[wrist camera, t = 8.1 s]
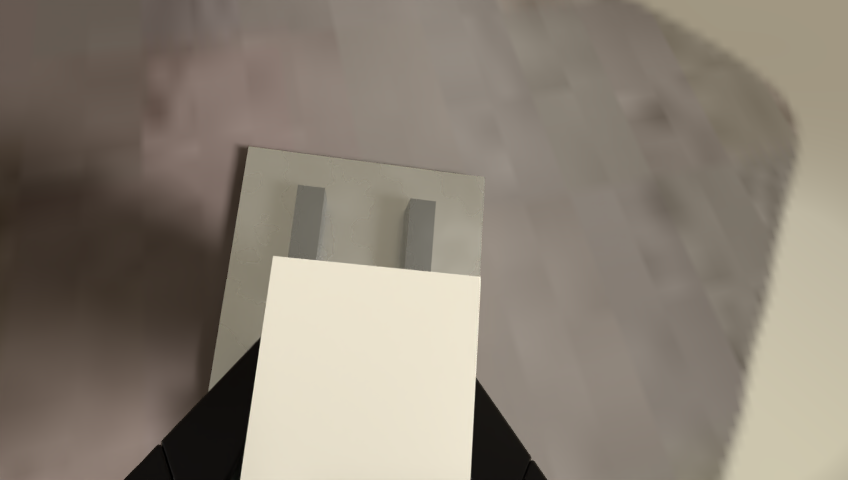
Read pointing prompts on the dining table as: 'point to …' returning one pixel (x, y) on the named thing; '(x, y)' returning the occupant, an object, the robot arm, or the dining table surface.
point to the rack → (340, 228)
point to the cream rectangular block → (364, 374)
